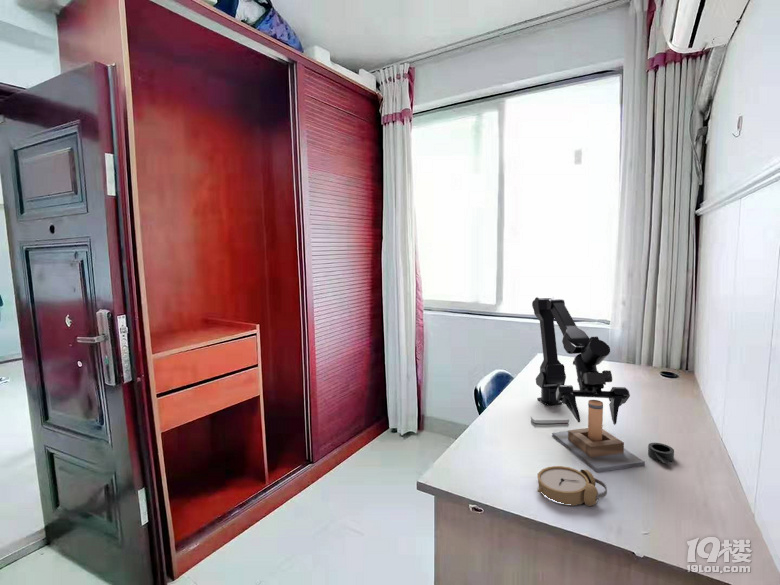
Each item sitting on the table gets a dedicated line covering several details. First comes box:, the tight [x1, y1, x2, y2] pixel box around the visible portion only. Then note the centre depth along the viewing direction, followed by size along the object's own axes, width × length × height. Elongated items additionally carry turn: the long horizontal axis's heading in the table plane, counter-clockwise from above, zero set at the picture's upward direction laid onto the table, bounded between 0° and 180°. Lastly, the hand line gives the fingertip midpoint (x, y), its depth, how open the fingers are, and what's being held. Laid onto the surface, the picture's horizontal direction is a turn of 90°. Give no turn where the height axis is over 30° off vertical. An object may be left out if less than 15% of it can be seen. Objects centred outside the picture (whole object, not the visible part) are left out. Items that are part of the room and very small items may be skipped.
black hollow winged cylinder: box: [647, 442, 675, 466], centre depth 107 cm, size 8×10×3 cm
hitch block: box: [551, 427, 646, 473], centre depth 112 cm, size 20×14×4 cm
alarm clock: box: [536, 465, 608, 507], centre depth 93 cm, size 11×5×15 cm
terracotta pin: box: [587, 399, 604, 442], centre depth 111 cm, size 4×4×13 cm
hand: (597, 423), depth 110 cm, fingers open, 9 cm apart
